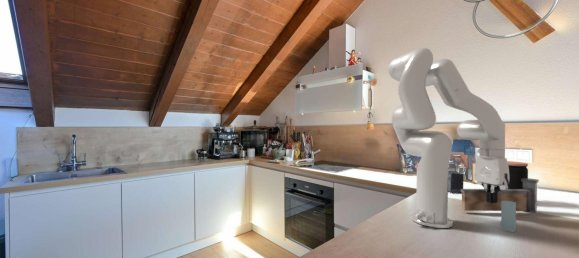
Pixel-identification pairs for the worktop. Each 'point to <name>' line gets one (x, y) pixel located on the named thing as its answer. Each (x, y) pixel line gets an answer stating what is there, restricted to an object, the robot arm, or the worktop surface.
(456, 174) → the small box
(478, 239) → the worktop surface
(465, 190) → the gate
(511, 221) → the block
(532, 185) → the gate post
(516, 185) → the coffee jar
